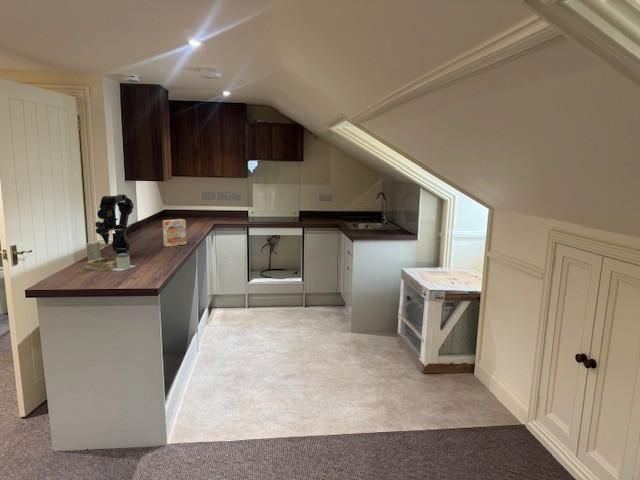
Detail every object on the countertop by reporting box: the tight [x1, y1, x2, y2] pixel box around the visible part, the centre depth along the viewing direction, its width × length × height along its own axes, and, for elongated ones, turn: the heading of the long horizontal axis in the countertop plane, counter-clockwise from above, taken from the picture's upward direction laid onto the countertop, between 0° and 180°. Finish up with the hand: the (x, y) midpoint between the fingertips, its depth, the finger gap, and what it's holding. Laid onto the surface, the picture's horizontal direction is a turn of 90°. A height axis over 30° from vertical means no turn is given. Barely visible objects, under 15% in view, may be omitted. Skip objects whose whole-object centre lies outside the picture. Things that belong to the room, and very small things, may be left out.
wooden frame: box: [84, 256, 117, 272], centre depth 252 cm, size 16×15×4 cm
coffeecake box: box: [162, 218, 188, 248], centre depth 317 cm, size 15×7×20 cm, turn 131°
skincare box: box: [85, 241, 102, 262], centre depth 265 cm, size 6×4×12 cm
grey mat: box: [111, 264, 136, 272], centre depth 249 cm, size 12×6×1 cm, turn 165°
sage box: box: [115, 252, 131, 269], centre depth 248 cm, size 5×5×8 cm
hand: (112, 243), depth 258 cm, fingers open, 9 cm apart
